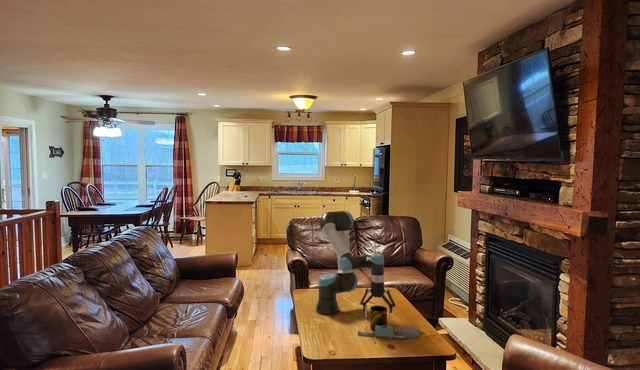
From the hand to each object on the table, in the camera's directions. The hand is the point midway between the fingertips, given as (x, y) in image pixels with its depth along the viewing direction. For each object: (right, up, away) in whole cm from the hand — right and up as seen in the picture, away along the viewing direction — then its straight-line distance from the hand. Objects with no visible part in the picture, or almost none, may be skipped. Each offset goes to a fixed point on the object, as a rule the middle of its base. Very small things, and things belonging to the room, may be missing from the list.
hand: (377, 317), depth 219 cm
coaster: (+16, -7, -6) cm, 18 cm away
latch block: (+2, -6, -11) cm, 13 cm away
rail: (0, -7, -11) cm, 13 cm away
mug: (0, -7, +2) cm, 7 cm away
